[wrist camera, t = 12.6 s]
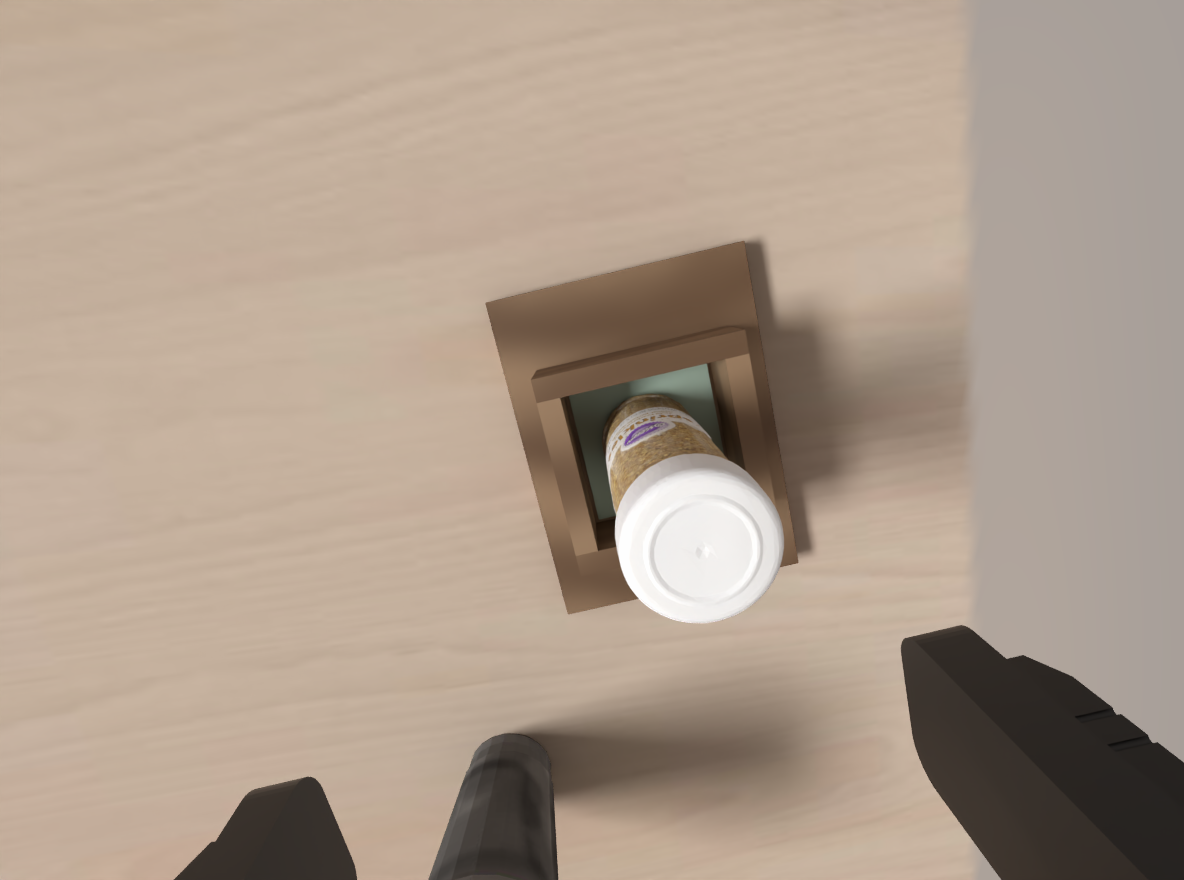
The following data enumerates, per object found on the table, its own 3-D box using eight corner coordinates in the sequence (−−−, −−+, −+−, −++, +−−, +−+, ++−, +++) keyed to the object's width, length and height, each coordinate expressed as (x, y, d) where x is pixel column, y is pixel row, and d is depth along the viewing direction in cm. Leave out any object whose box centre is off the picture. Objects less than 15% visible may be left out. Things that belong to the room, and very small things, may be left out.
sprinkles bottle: (652, 372, 29) (715, 434, 16) (715, 442, 30) (823, 556, 17) (580, 437, 30) (582, 548, 16) (643, 504, 30) (694, 661, 17)
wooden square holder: (488, 302, 29) (472, 303, 25) (738, 242, 29) (767, 232, 25) (568, 604, 33) (566, 652, 28) (791, 554, 32) (825, 595, 28)
